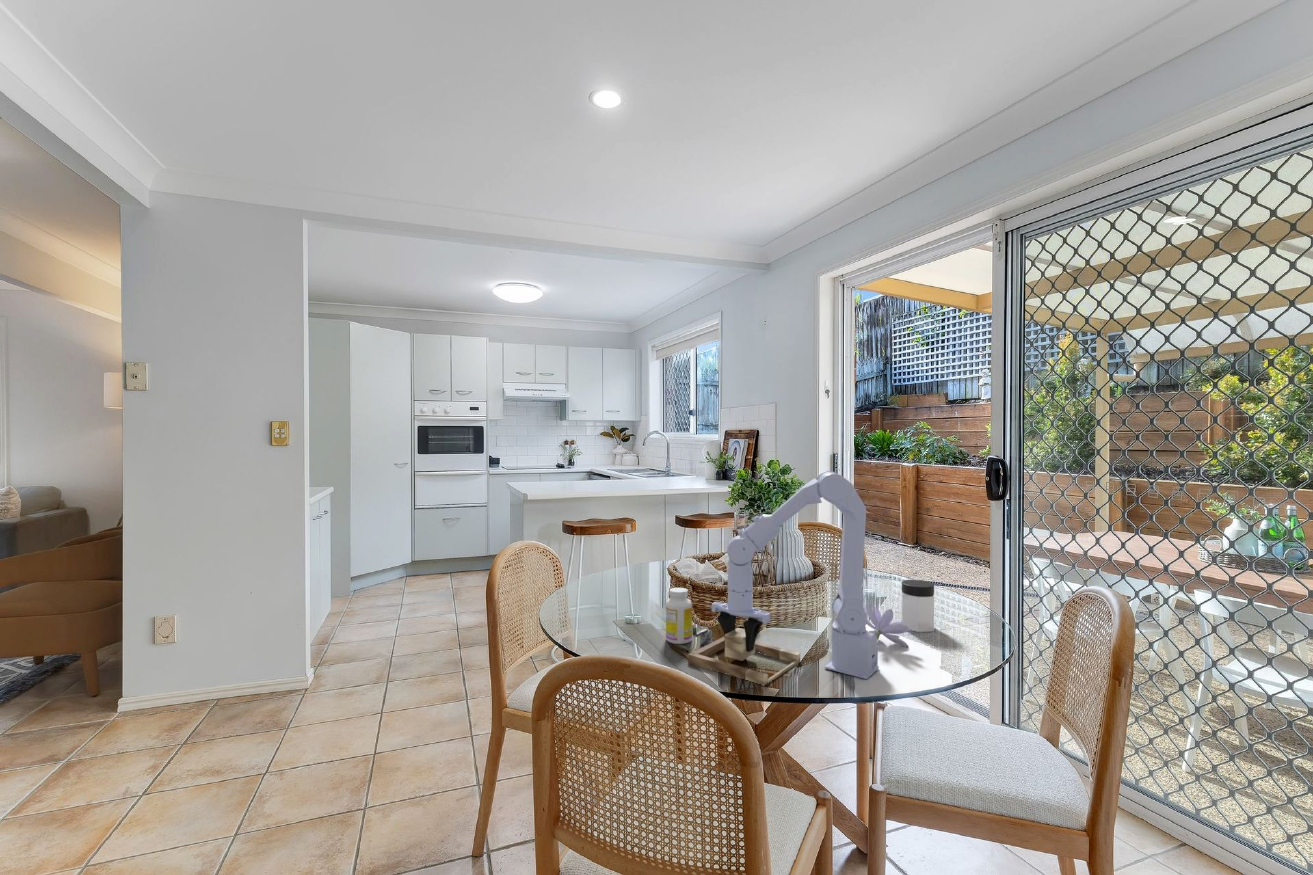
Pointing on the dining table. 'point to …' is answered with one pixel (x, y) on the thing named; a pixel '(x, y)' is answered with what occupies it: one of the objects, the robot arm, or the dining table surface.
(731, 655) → the beige cube
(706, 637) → the winch
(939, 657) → the dining table surface
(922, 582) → the jar
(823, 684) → the dining table surface
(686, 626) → the supplement bottle
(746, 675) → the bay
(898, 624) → the water lily
